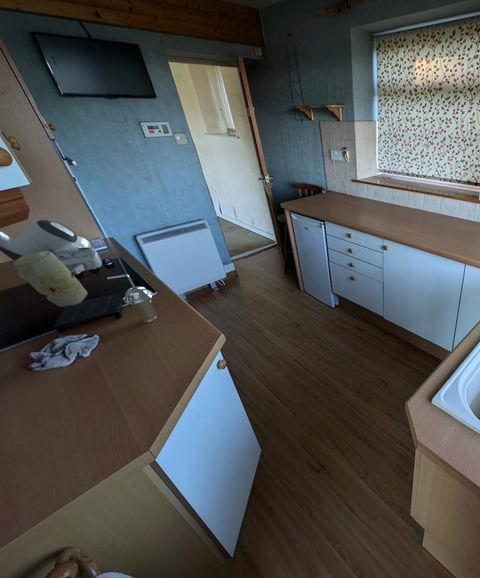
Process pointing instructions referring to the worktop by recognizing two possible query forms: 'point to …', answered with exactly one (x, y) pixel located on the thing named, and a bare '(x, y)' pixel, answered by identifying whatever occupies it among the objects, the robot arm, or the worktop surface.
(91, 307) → the low black rectangular block
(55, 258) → the food model
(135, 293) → the cup with straw
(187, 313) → the worktop surface
